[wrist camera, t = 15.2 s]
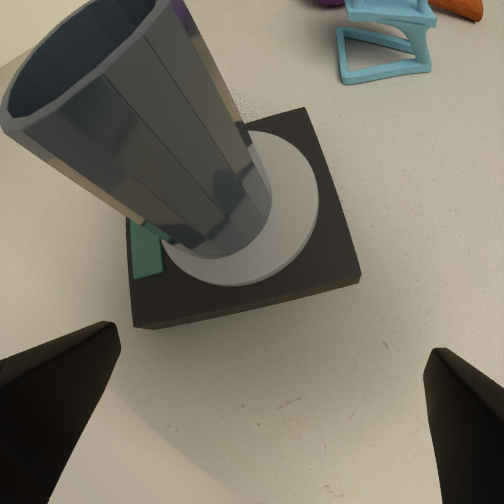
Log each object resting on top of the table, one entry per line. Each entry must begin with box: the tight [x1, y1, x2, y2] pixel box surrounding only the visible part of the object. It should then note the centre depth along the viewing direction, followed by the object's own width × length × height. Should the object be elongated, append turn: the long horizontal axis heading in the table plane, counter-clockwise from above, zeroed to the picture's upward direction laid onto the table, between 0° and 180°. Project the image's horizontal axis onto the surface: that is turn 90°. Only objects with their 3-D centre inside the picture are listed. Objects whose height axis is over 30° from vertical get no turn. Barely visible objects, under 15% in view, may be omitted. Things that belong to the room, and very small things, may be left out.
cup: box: [0, 0, 272, 259], centre depth 13 cm, size 7×7×13 cm
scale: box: [126, 107, 361, 330], centre depth 21 cm, size 14×12×3 cm
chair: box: [336, 0, 437, 85], centre depth 18 cm, size 8×8×12 cm
